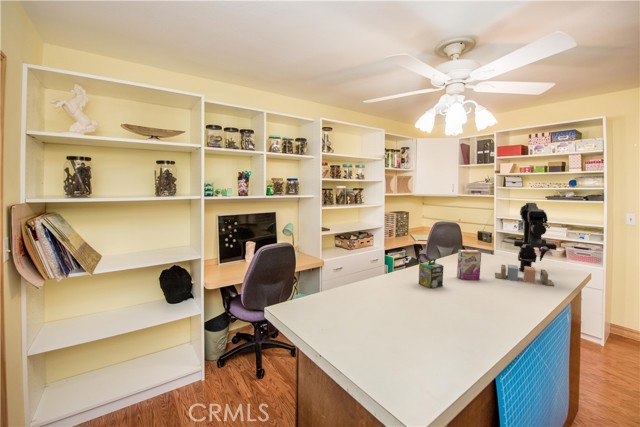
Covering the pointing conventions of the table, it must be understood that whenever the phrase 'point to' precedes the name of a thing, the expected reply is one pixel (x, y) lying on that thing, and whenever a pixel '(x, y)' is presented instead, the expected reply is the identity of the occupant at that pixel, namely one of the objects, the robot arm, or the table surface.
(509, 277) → the blue book
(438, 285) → the chalk box
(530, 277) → the rust book
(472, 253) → the candy bar box
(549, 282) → the bookend slide
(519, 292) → the table surface
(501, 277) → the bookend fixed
